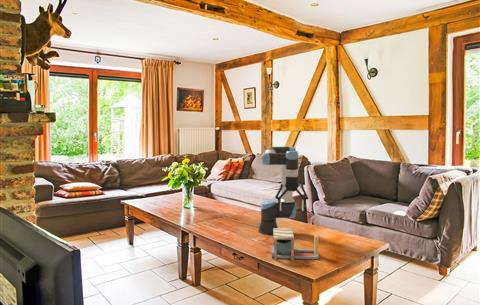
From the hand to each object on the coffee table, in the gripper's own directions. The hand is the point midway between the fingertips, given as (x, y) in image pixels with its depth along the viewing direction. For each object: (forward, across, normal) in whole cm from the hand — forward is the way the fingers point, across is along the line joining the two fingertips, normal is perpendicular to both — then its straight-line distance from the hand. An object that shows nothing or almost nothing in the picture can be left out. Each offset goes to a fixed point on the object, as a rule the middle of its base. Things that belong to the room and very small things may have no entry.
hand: (291, 210), depth 222 cm
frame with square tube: (+28, +2, -1) cm, 28 cm away
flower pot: (+28, -5, -1) cm, 29 cm away
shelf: (+28, -5, -1) cm, 28 cm away
